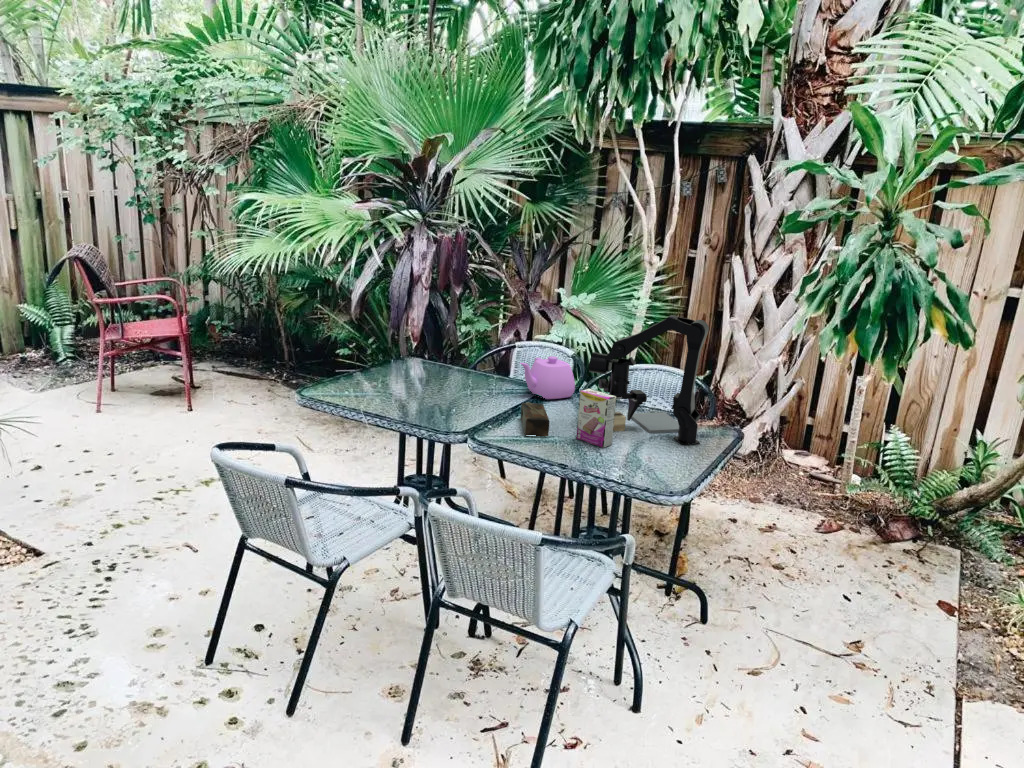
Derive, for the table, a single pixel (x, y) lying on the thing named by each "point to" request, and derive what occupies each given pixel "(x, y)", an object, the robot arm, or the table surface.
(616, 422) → the lettered cube
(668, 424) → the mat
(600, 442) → the candy bar box
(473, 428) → the table surface
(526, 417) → the beverage carton
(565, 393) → the teapot
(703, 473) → the table surface
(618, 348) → the robot arm
